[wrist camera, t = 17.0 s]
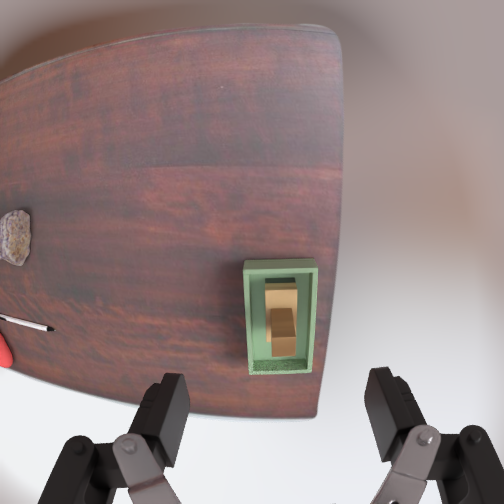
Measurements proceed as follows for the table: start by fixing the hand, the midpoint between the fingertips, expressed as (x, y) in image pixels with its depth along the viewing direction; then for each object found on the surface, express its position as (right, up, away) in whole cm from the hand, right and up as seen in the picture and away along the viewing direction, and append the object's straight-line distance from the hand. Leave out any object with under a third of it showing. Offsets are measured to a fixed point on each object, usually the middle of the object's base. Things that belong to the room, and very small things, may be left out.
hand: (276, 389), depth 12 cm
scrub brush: (+2, -1, +26) cm, 26 cm away
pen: (-44, -7, +31) cm, 54 cm away
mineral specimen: (-38, +8, +26) cm, 47 cm away
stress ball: (-52, -13, +34) cm, 64 cm away
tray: (+3, -2, +28) cm, 28 cm away
